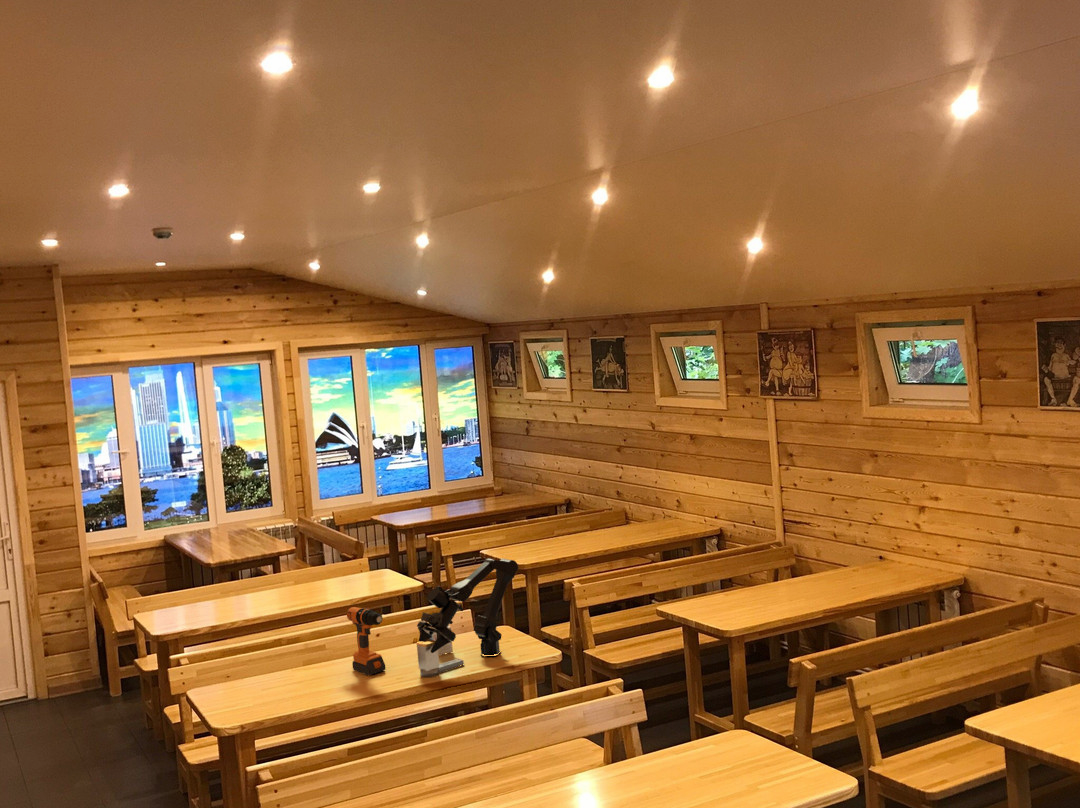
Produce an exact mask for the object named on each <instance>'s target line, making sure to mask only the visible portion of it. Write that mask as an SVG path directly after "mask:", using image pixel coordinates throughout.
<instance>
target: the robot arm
mask: <svg viewBox="0 0 1080 808" xmlns="http://www.w3.org/2000/svg"><path fill="white" fill-rule="evenodd" d="M494 570H495V576H496V578H495V579H496V580H495V583H494V585H493V588H492V591H491V594H490V597H489V599H488V603H487V605H486V608H485V610H484V613H483V614H482V615H477V617H476V619H475V622H474V624H473V626H474V627H473V631H474V633H475V635H476V636H477V639H479V640H480V641H481V643H480V645H479V646H480V654H481V655H482V654H484V655H494V654H498V653H499V652H500V651H501V649H500V641H501V639H502V633H501V632H499V631H498V629H497V627H498V626H497V625H498V623H497V615H498V612H499V610H500V608H501V605H502V602H503V600H504V599H503V598H504V595H505V593H506V590H507V587H508V585H509V583H510V582H511V581H512V580H513V579H515V576H516V574H517V572H518V570H519V565H518V563H517V562H516V560H514V559H513V560H512V559H507V558H501V559H499V560H497V559H494V558H486V559H485V560H484V562H483V563H482V564H481V565H479V566H478V567H477V568H476V569H475V570H474V571H473V572H472V573H471V574H470V575H468V576H467V577H466V578H465V579H463V580H461V581H459V582H456V583H455V584H453V585H451V586H450V588H449V589H446V590H444V588H443V587H441V586H440V585H436V587H434V588H433V589H431V590H430V591H429V592H428V593H427V596H426V599H427V601H429V602H430V603H431V604H432V605H433V606H435V607H436V608H437V609H439V611H438V612H437V611H436V612H432V613H428V612H422V614H421V619H420V621H418V622H417V624H416V627H417V630H418V631H419V638H418V640H417V642H420V641H423V640H427V639H430V638H431V637H432V636H431V635H432V634H433V633H437V639H436V641H435V643H434V645H433V647H432V649H431V653H434V652H435V651H437V650H438V649H440V648H441V647H443V646H444V645H446V644H448V643H450V642H451V641H452V642H454V641H455V640H456V637H457V636H456V633H455V632H454V631H453V630H452V629H451V630H450V629H449V628H447V627H448V626H450V625H453V624H454V621H453V619H454V617H455V615H456V614H457V612H458V611H460V612H463V611H464V608H463V604H462V603H459V602H463V603H464V602H466V601H468V599H469V598H470V596H471V595H472V594H473V591H474V589H475V588H476V587H477V586H478V585H479V584H480V583H481V582H482V581H483V580H484V579H485V578H487V576H489V575H490V573H492V572H493V571H494ZM457 601H458V603H457ZM431 625H432V626H431Z"/></svg>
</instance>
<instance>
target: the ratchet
mask: <svg viewBox="0 0 1080 808" xmlns="http://www.w3.org/2000/svg"><path fill="white" fill-rule="evenodd" d="M464 662H465V661H464V659H462V658H461V659H460V658H455V659H452V660H449V661H446V662H442V663H439V668H436V669H433V670H430V671H425V670H422V669H419V670H420V677H422V678H434V677H436V676H439V674H441V673H443V672H444V673H445V672H447V671H446V670H448V671H450V670H449V669H451V670H453V669H452V668H454V669H456V668H455V667H457V668H459V667H458V666H460V665H463V664H464V665H465V663H464ZM464 665H463V666H464ZM460 667H461V666H460Z"/></svg>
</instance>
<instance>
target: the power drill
mask: <svg viewBox="0 0 1080 808" xmlns="http://www.w3.org/2000/svg"><path fill="white" fill-rule="evenodd" d="M346 618H347V619H348V620H349V621H350V622H351V623H352V624H353V625H355V627H356V633H357V634H356V641H357V651H354V653H352V656H353V661H352V670H353V671H355V672H358V673H361V674H363V675H366V676H368V675H369V676H371V675H375V674H378V673H381V672H383V671H386V664H385V663H386V662H385V661H384V658H383V656H382V655H381V654H380V653H377V652H376V651H373V650H370V641H369V640H370V639H369V636H370V635H371V634H372V633H371V629H372V628H373V626H374V625H375V626H378V625H381V623H382V622H383V615H382V614H381V613H379V612H377V611H375V610H373V609H371V608H368V607H355V606H352V607H350V608H349V609H348V610H347V611H346Z"/></svg>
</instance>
